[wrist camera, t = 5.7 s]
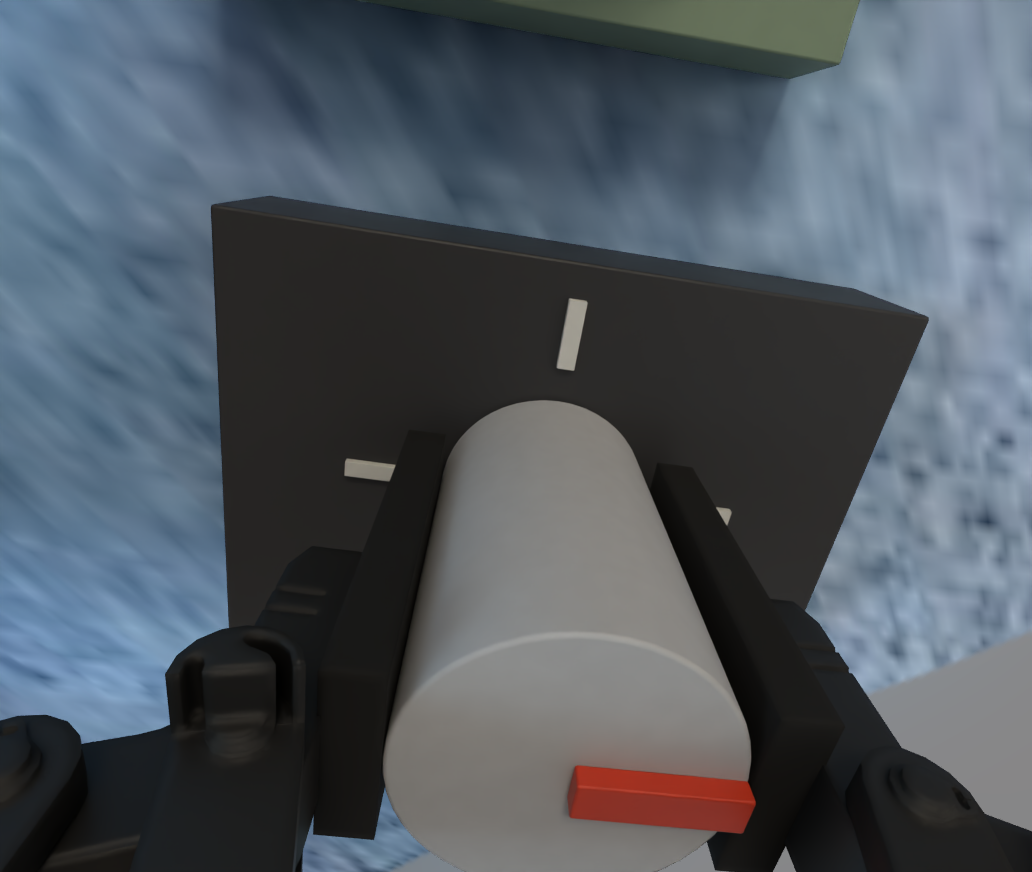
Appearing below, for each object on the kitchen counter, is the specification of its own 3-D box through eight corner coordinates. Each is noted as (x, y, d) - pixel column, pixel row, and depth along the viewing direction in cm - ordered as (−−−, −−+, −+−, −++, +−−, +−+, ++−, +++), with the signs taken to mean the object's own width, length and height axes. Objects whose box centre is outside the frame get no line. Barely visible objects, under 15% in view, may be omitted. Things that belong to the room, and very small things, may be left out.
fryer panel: (270, 558, 18) (225, 634, 15) (267, 195, 14) (204, 204, 11) (734, 614, 19) (774, 695, 16) (855, 288, 15) (936, 318, 12)
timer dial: (433, 562, 15) (366, 904, 8) (452, 385, 13) (387, 633, 6) (617, 583, 15) (704, 930, 8) (661, 413, 13) (817, 679, 6)
